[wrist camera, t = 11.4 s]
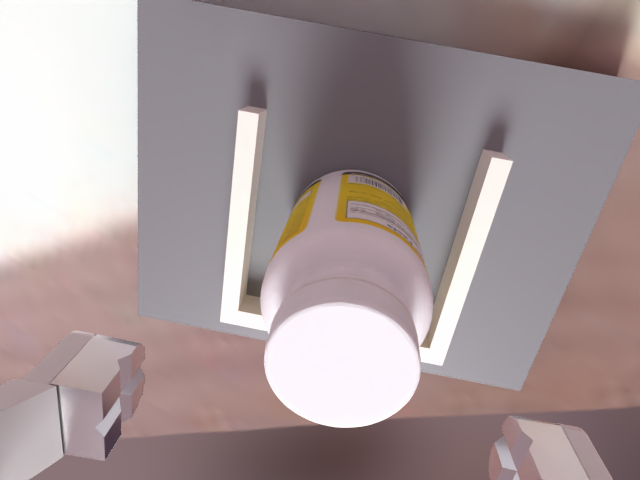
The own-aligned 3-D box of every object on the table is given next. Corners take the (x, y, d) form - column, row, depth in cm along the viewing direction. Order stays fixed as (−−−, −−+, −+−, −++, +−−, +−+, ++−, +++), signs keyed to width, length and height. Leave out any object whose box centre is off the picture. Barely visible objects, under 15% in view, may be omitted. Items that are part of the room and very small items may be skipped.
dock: (162, 287, 26) (123, 331, 22) (169, -2, 20) (117, -15, 16) (503, 354, 25) (529, 412, 21) (616, 79, 19) (683, 87, 15)
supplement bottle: (310, 289, 22) (269, 459, 13) (277, 183, 20) (201, 295, 11) (422, 267, 21) (465, 436, 12) (399, 153, 19) (429, 250, 10)
